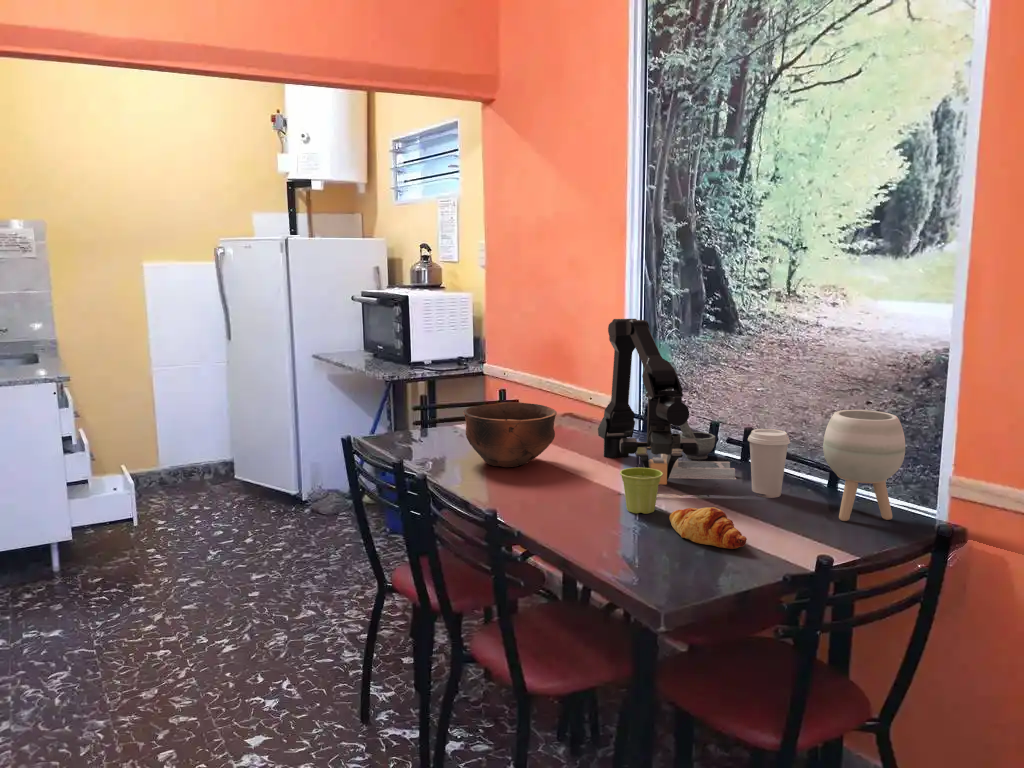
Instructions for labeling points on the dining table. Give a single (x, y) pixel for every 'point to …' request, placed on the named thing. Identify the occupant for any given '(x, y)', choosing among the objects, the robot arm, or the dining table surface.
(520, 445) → the bowl
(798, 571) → the dining table surface
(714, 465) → the grey tray
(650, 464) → the block
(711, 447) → the mortar and pestle
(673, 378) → the robot arm
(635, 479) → the plant pot
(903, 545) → the dining table surface
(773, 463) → the coffee cup
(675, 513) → the croissant
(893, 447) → the planter
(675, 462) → the block
